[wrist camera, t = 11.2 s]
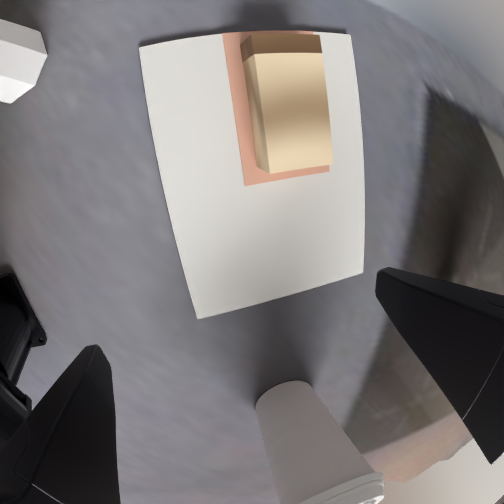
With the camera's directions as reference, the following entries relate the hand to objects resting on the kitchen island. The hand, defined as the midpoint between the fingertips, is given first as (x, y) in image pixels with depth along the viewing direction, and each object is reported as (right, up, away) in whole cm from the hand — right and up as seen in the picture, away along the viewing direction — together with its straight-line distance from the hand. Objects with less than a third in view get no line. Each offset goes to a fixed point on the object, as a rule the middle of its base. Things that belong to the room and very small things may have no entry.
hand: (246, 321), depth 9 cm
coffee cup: (+4, -14, +21) cm, 25 cm away
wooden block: (+2, +11, +9) cm, 14 cm away
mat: (+1, +7, +11) cm, 13 cm away
